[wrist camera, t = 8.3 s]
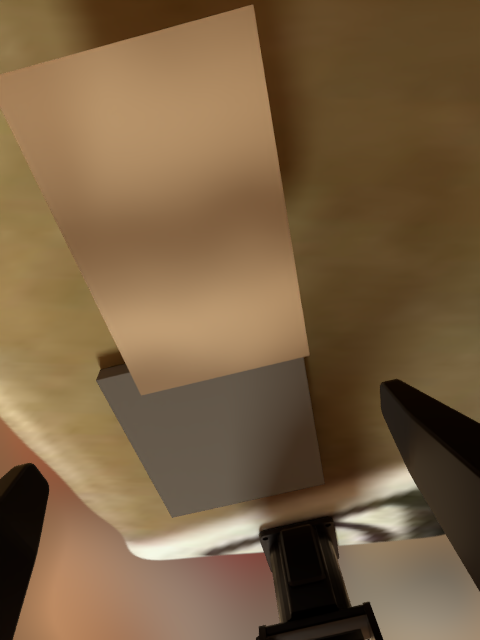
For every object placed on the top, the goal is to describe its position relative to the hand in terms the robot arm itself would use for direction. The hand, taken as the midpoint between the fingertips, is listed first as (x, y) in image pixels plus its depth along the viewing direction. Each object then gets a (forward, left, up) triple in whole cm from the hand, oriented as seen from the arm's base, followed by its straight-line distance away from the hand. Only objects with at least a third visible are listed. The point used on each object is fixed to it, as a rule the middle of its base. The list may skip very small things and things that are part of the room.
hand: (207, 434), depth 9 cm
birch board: (+3, 0, -7) cm, 8 cm away
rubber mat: (-12, +2, -12) cm, 16 cm away
